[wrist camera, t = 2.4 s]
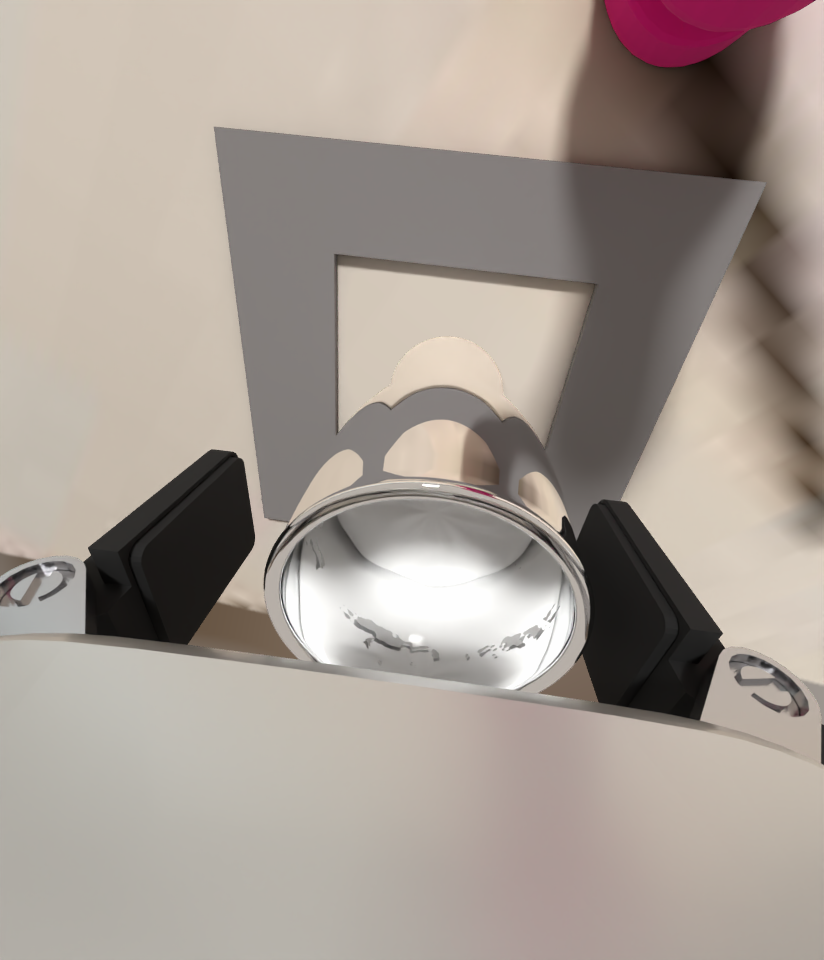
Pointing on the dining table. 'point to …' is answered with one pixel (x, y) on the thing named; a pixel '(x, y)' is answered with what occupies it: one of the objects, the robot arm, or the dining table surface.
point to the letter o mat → (477, 246)
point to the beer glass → (435, 537)
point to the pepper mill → (690, 26)
